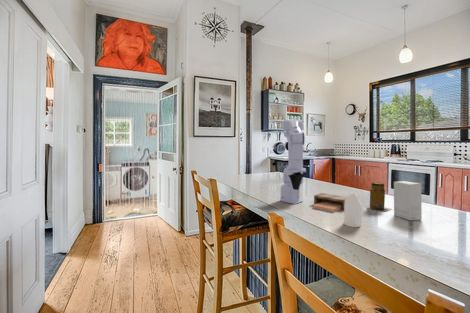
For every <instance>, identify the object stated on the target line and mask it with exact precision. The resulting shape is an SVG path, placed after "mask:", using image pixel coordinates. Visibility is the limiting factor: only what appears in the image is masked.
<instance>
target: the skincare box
mask: <svg viewBox="0 0 470 313" xmlns="http://www.w3.org/2000/svg"><path fill="white" fill-rule="evenodd" d="M422 210H423V209H422V183H419V182H415V181H414V182H412V181H407V180H403V181H401V180H400V181H398V180H397V181H393V215H394V216H395V217H398V218H402V219H405V220H408V221H421V220H422V219H423V217H422V214H423V213H422Z"/></svg>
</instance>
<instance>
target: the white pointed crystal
mask: <svg viewBox="0 0 470 313" xmlns="http://www.w3.org/2000/svg"><path fill="white" fill-rule="evenodd" d="M347 197H348V198H347V199H346V200H345V203H344V210H343V211H344V212H343V213H344V214H343V215H344V218H343V224H344V225H345V226H347V227H350V228H360V227H362V214H363V213H362V212H363V209H362V208H363V205H362V203H361V201H360V200H359V197H358V195H357V194H356V193H352V194H349V196H347Z"/></svg>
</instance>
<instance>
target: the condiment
mask: <svg viewBox="0 0 470 313" xmlns="http://www.w3.org/2000/svg"><path fill="white" fill-rule="evenodd" d="M370 185H371V187H370V190H369V206H367V207H365V208H366V209H369V210H376V211H382V212H389V211H390V210H392V208H390V207H385V202H386V201H385V198H386V190H385V184H384V183H382V182H377V181H375V182H371V184H370Z"/></svg>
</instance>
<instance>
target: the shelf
mask: <svg viewBox="0 0 470 313" xmlns="http://www.w3.org/2000/svg"><path fill="white" fill-rule="evenodd" d="M348 197H349V196H343V195H336V194H330V193H324V192H320V193H317V194H314V196H313V198H314V199H313V205H314V204H317V203H320V202H322V201H325V200H328V201H334V202H340V203H343V208H342V210H343V211H344V203H345V200H346V199H347V198H348Z"/></svg>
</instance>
